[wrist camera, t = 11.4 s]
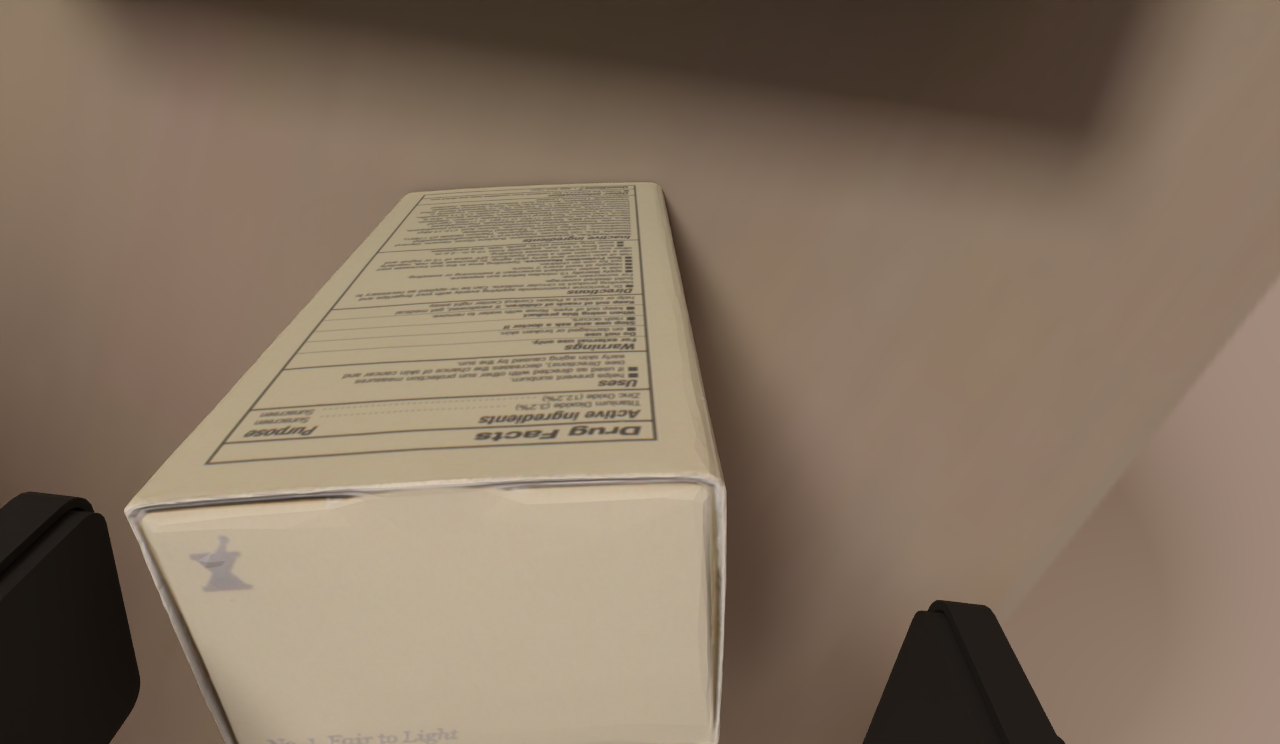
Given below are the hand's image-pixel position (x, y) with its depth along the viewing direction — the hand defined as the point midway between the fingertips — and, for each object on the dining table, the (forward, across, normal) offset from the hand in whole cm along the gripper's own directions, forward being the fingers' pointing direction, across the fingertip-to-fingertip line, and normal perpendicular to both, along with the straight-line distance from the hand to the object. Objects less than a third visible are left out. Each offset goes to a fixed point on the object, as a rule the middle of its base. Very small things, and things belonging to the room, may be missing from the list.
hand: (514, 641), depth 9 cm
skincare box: (+12, +1, 0) cm, 12 cm away
